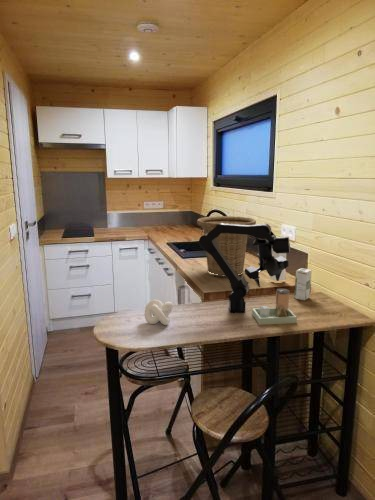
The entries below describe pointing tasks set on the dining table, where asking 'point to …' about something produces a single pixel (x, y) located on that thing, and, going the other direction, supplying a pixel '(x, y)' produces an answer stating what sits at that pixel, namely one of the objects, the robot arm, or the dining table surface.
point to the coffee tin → (282, 302)
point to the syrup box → (302, 284)
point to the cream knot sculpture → (158, 312)
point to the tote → (273, 317)
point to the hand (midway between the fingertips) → (268, 283)
